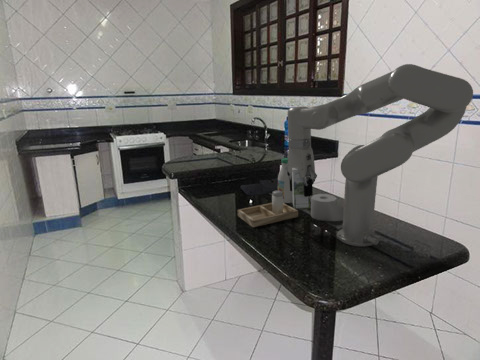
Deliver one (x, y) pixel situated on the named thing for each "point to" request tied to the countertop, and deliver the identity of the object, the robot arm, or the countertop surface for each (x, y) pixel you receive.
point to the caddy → (265, 214)
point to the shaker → (277, 202)
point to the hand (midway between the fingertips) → (300, 192)
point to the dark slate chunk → (261, 187)
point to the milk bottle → (284, 182)
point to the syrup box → (299, 191)
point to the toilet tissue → (326, 208)
